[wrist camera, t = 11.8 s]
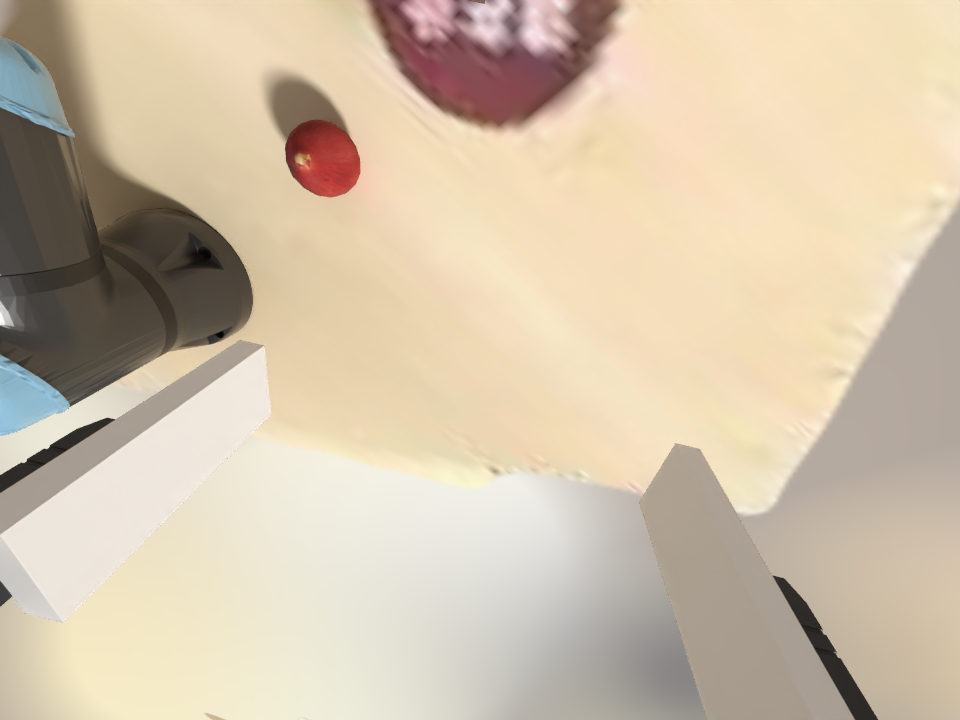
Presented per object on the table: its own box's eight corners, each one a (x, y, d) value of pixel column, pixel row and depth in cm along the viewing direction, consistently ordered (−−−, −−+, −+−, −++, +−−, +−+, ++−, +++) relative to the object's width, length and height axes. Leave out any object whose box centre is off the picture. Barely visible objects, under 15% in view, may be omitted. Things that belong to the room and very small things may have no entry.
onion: (328, 199, 37) (281, 209, 30) (303, 133, 34) (245, 128, 28) (381, 185, 36) (345, 192, 29) (359, 115, 33) (314, 105, 26)
